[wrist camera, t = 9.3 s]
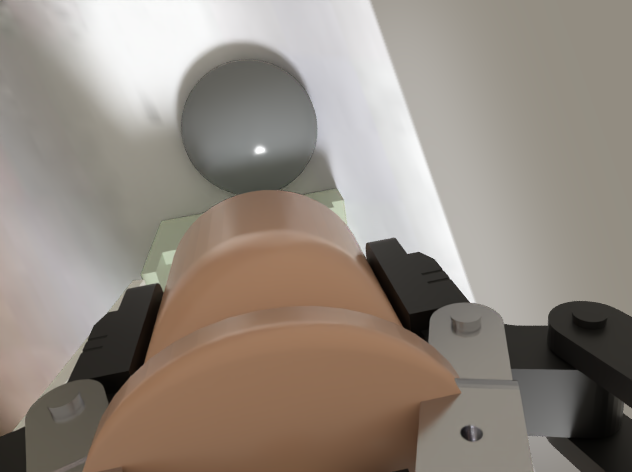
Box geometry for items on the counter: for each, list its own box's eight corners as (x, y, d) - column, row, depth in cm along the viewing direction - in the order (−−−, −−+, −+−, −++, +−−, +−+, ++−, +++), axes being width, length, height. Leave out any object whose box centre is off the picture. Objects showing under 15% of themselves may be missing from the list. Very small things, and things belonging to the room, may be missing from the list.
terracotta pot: (125, 198, 13) (-112, 568, 4) (365, 155, 13) (608, 408, 4) (186, 392, 15) (116, 883, 6) (386, 350, 15) (571, 758, 7)
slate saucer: (200, 202, 34) (199, 206, 34) (167, 71, 31) (165, 72, 30) (323, 179, 35) (325, 182, 34) (304, 48, 32) (306, 49, 31)
